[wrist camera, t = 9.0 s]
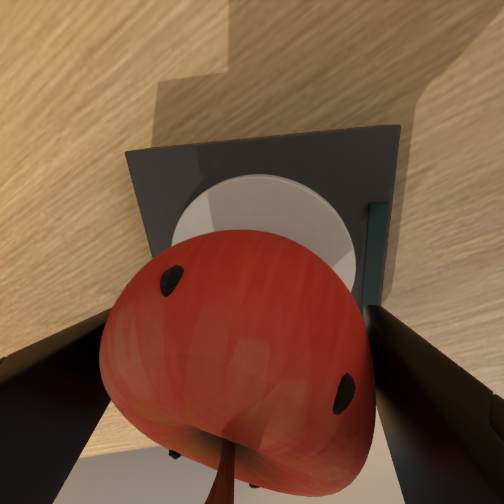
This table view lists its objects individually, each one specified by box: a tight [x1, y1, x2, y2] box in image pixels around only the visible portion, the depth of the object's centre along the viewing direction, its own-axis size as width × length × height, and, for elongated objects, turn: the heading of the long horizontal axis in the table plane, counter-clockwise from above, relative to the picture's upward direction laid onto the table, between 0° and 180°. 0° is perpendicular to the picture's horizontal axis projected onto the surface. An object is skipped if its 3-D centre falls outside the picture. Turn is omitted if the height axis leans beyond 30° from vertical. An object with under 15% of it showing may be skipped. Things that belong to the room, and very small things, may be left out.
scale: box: [125, 125, 401, 317], centre depth 12 cm, size 10×10×3 cm
